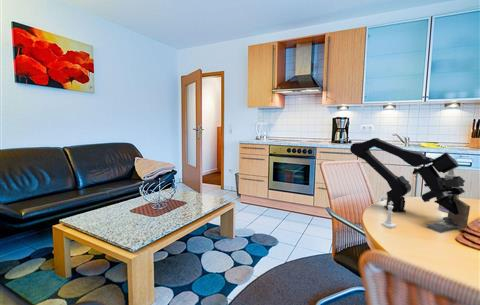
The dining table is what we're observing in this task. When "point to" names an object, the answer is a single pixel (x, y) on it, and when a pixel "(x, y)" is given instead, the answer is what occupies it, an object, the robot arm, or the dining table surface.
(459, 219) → the walnut gate
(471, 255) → the dining table surface
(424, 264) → the dining table surface
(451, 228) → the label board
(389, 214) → the chess piece
